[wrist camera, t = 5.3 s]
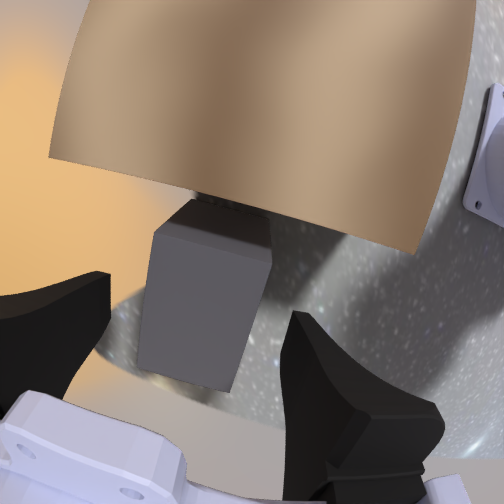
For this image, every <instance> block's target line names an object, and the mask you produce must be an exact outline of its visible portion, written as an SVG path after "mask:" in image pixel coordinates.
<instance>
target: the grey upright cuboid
mask: <svg viewBox="0 0 504 504" xmlns="http://www.w3.org/2000/svg"><path fill="white" fill-rule="evenodd" d="M271 266H272V252H271V238H270V225H269V219H265V218H262V217H258V216H254V215H251V214H247V213H243V212H240V211H236V210H232V209H229V208H225V207H221V206H217V205H213V204H210V203H206V202H202V201H198V200H194V199H191V200H190V201H188V202H187V203H186V204H185V205H184V206H183V207H182V208H180V209H179V210H178V211H177V212H176V213H175V214H174V215H173V216H172V217H170V218H169V219H168V220H167V221H166V222H165V223H164V224H163V225H161V226H160V227H159V228H158V229H157V230H156V231H155V232H154V236H153V242H152V248H151V254H150V260H149V267H148V273H147V280H146V287H145V295H144V302H143V310H142V319H141V328H140V337H139V347H138V358H137V367H138V368H141V369H144V370H147V371H150V372H153V373H157V374H160V375H163V376H167V377H170V378H173V379H177V380H180V381H184V382H188V383H191V384H195V385H199V386H203V387H207V388H211V389H215V390H219V391H223V392H227V393H230V390H231V387H232V384H233V381H234V378H235V376H236V373H237V370H238V367H239V364H240V361H241V358H242V355H243V352H244V349H245V346H246V343H247V340H248V337H249V334H250V331H251V328H252V325H253V322H254V319H255V316H256V313H257V310H258V307H259V304H260V301H261V297H262V294H263V291H264V288H265V285H266V282H267V279H268V276H269V273H270V270H271Z"/></svg>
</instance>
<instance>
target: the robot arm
mask: <svg viewBox="0 0 504 504" xmlns="http://www.w3.org/2000/svg"><path fill="white" fill-rule="evenodd" d="M502 93H503V94H504V86H502V85H501V84H499V83H494V84H492V85H491V88H490V94H489V100H488V105H487V110H486V115H485V120H484V124H483V129H482V133H481V137H480V142H479V146H478V149H477V153H476V157H475V161H474V164H473V168H472V171H471V175H470V178H469V181H468V185H467V188H466V191H465V194H464V197H463V205H464V207H465V208H466V209H467V210H469V211H471V212H473V213H475V214H477V215H479V216H481V217H483V218H485V219H487V220H489V221H491V222H493V223H495V224H497V225H499V226H501V227H503V228H504V98H503V95H502ZM477 201H478V206H477V207H476V208H475V203H476V202H477ZM110 277H111V274H108V273H104V272H100V271H94V272H90V273H86V274H83V275H80V276H77V277H74V278H72V279H68V280H65V281H63V282H60V283H57V284H53V285H50V286H47V287H44V288H40V289H37V290H33V291H28V292H23V293H18V294H13V295H4V296H0V504H471V502H470V500H469V497H468V495H467V493H466V490H465V488H464V485H463V483H462V481H461V478H460V476H459V474H453V475H448V476H443V477H437V478H433V479H430V480H428V481H426V482H424V483H423V481H422V478H421V475H423V473H424V472H425V469H424V466H423V463H422V462H423V461H424V460H425V458H426V457H427V456H428V455H429V454H430V453H431V452H432V450H433V449H434V448H435V447H436V445H437V444H438V443H439V441H440V440H441V438H442V436H443V434H444V431H445V422H444V420H443V418H442V416H441V414H440V412H439V411H438V409H437V407H436V405H435V403H433V402H430V401H427V400H424V399H422V398H419V397H416V396H414V395H411V394H409V393H407V392H404V391H402V390H400V389H398V388H396V387H394V386H392V385H390V384H389V383H387V382H385V381H383V380H382V379H380V378H379V377H377V376H375V375H374V374H372V373H371V372H369V371H368V370H366V369H365V368H364V367H363V366H361V365H360V364H359V363H357V362H356V361H355V360H354V359H352V358H351V357H350V356H349V355H348V354H347V353H346V352H345V351H344V350H343V349H342V348H340V347H339V346H338V345H337V344H336V343H335V341H334V340H333V339H332V338H331V337H330V336H329V335H328V334H327V333H326V332H325V331H324V329H323V328H322V327H321V326H320V325H319V324H318V323H317V322H316V320H315V319H314V318H313V317H312V316H311V315H310V314H309V313H306V312H300V311H294V310H293V312H292V315H291V319H290V322H289V326H288V329H287V333H286V336H285V339H284V343H283V346H282V349H281V353H280V380H281V389H282V397H283V405H284V414H285V425H286V446H285V473H284V487H283V499H282V501H280V500H264V499H252V498H244V497H240V496H236V495H233V494H229V493H226V492H222V491H219V490H216V489H213V488H210V487H206V486H203V485H201V484H198V483H195V482H192V481H189V480H187V479H186V469H187V463H186V460H185V458H184V456H183V453H182V451H181V450H180V449H179V448H178V447H177V446H175V445H174V444H173V443H172V442H170V441H169V440H168V439H167V438H165V437H164V436H163V435H161V434H158V433H156V432H153V431H151V430H148V429H146V428H144V427H141V426H138V425H134V424H131V423H128V422H124V421H121V420H118V419H114V418H111V417H108V416H105V415H102V414H99V413H96V412H93V411H90V410H87V409H85V408H82V407H79V406H76V405H74V404H71V403H68V402H66V401H63V400H62V399H63V397H64V394H65V393H66V391H67V389H68V387H69V384H70V383H71V381H72V379H73V377H74V376H75V374H76V372H77V371H78V369H79V368H80V366H81V365H82V364H83V362H84V361H85V359H86V358H87V357H88V355H89V354H90V352H91V351H92V350H93V348H94V347H95V345H96V344H97V342H98V341H99V340H100V338H101V337H102V335H103V333H104V331H105V329H106V327H107V325H108V323H109V321H110V319H111V299H110V298H111V291H110V290H111V283H110V282H111V280H110V279H111V278H110Z"/></svg>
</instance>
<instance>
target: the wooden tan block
mask: <svg viewBox="0 0 504 504" xmlns="http://www.w3.org/2000/svg"><path fill="white" fill-rule="evenodd" d="M475 11H476V0H90V2H89V4H88V7H87V10H86V12H85V15H84V17H83V21H82V23H81V26H80V28H79V31H78V34H77V37H76V41H75V43H74V47H73V50H72V53H71V56H70V60H69V63H68V67H67V70H66V74H65V78H64V82H63V85H62V89H61V94H60V98H59V102H58V107H57V112H56V116H55V122H54V127H53V133H52V138H51V144H50V151H49V158H53V159H58V160H63V161H68V162H73V163H77V164H82V165H87V166H91V167H96V168H101V169H105V170H110V171H114V172H119V173H123V174H127V175H132V176H137V177H140V178H145V179H149V180H153V181H157V182H161V183H165V184H170V185H173V186H177V187H182V188H186V189H189V190H193V191H197V192H201V193H205V194H209V195H213V196H217V197H220V198H224V199H228V200H232V201H235V202H239V203H243V204H247V205H250V206H254V207H258V208H261V209H265V210H268V211H272V212H275V213H279V214H283V215H286V216H290V217H293V218H296V219H300V220H303V221H307V222H310V223H314V224H317V225H320V226H324V227H327V228H330V229H334V230H337V231H340V232H344V233H347V234H350V235H353V236H357V237H360V238H363V239H366V240H369V241H372V242H376V243H379V244H382V245H385V246H388V247H391V248H394V249H397V250H400V251H403V252H406V253H410V254H413V255H415V252H416V250H417V247H418V245H419V242H420V240H421V237H422V235H423V232H424V229H425V227H426V224H427V221H428V219H429V216H430V213H431V210H432V207H433V204H434V202H435V199H436V196H437V193H438V190H439V186H440V183H441V180H442V177H443V174H444V170H445V167H446V164H447V160H448V157H449V153H450V150H451V146H452V142H453V138H454V135H455V131H456V127H457V122H458V118H459V114H460V109H461V105H462V100H463V95H464V90H465V85H466V80H467V74H468V68H469V62H470V55H471V48H472V40H473V32H474V22H475Z"/></svg>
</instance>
